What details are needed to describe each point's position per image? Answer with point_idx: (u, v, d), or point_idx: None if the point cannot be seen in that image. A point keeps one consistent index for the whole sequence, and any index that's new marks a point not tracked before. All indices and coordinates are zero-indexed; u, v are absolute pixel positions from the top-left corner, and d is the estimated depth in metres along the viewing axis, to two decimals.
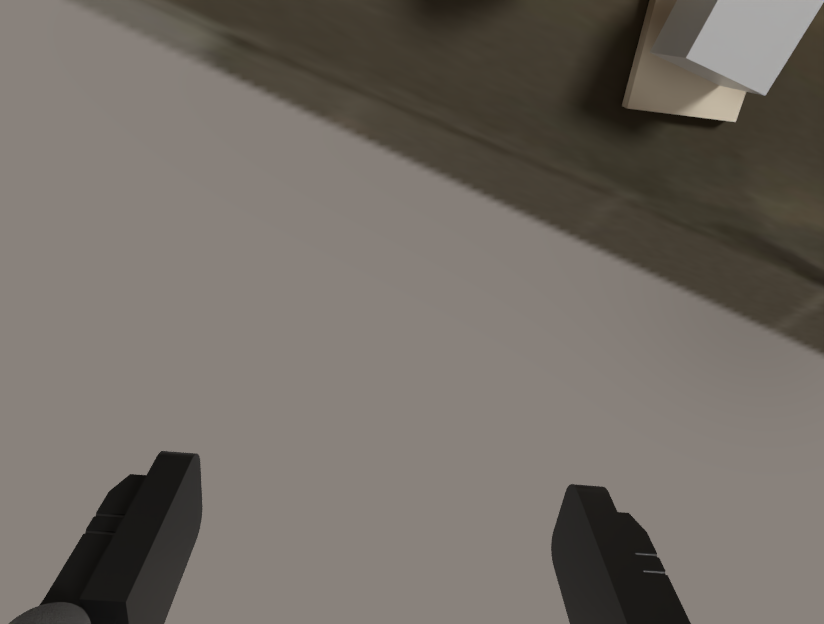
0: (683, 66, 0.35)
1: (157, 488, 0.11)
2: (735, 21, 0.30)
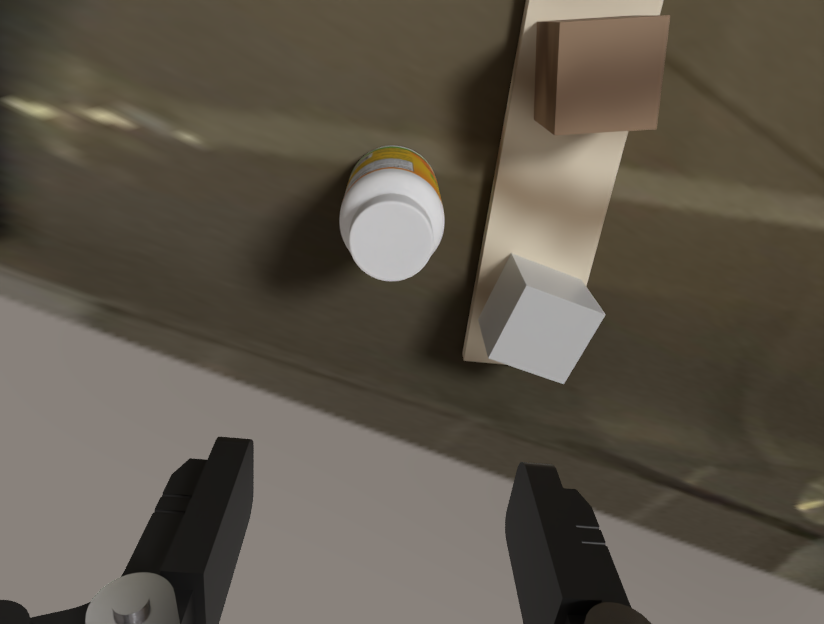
0: None
1: (219, 470, 0.12)
2: (527, 332, 0.34)
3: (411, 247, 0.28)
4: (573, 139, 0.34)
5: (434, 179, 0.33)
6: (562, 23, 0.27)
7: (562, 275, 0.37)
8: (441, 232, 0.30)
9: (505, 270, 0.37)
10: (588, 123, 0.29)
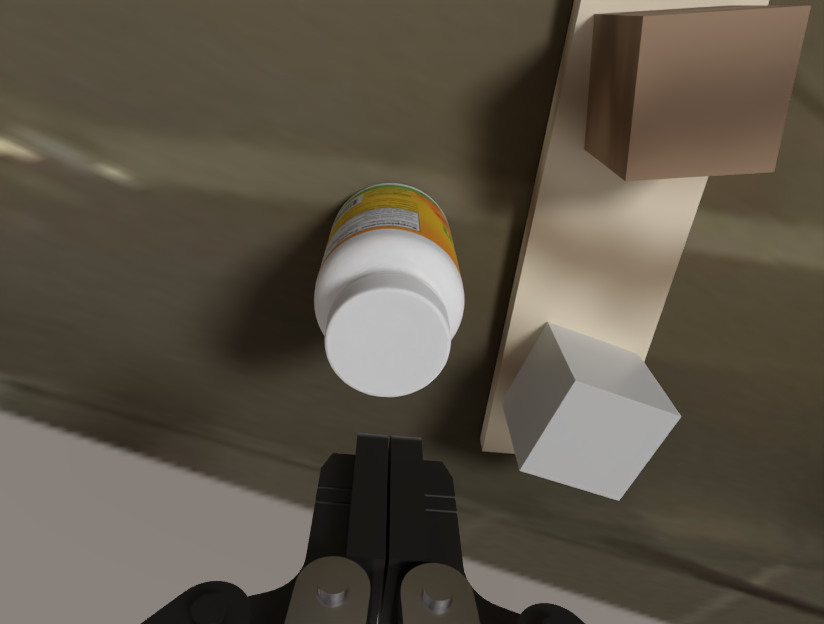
0: None
1: (370, 464, 0.12)
2: (574, 438, 0.25)
3: (418, 352, 0.19)
4: None
5: (448, 233, 0.24)
6: (647, 17, 0.18)
7: (615, 351, 0.28)
8: (459, 318, 0.21)
9: (540, 345, 0.28)
10: (675, 164, 0.20)
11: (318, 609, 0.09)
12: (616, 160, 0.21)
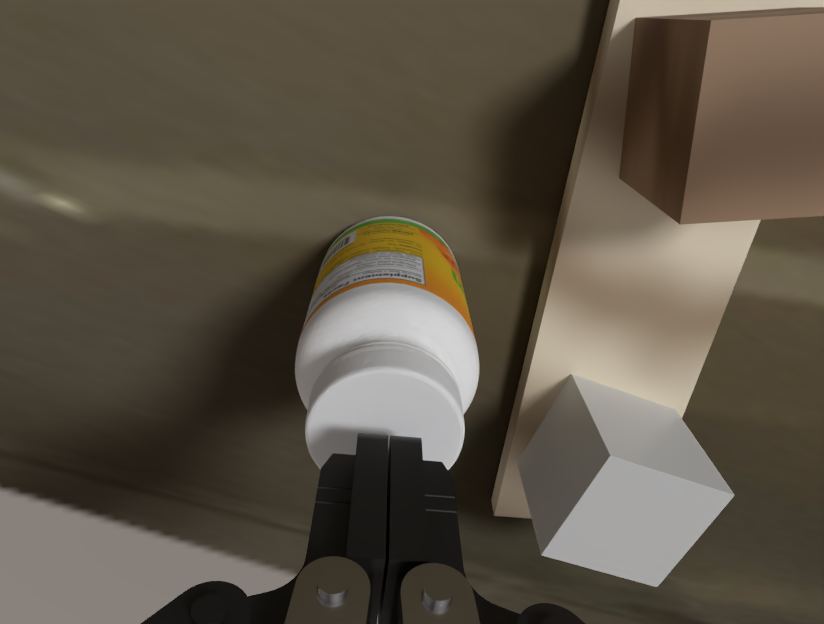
0: None
1: (369, 464, 0.12)
2: (606, 519, 0.21)
3: (423, 444, 0.15)
4: None
5: (458, 280, 0.20)
6: (715, 22, 0.14)
7: (649, 408, 0.24)
8: (474, 390, 0.17)
9: (563, 401, 0.24)
10: (743, 204, 0.16)
11: (318, 609, 0.09)
12: (666, 197, 0.17)
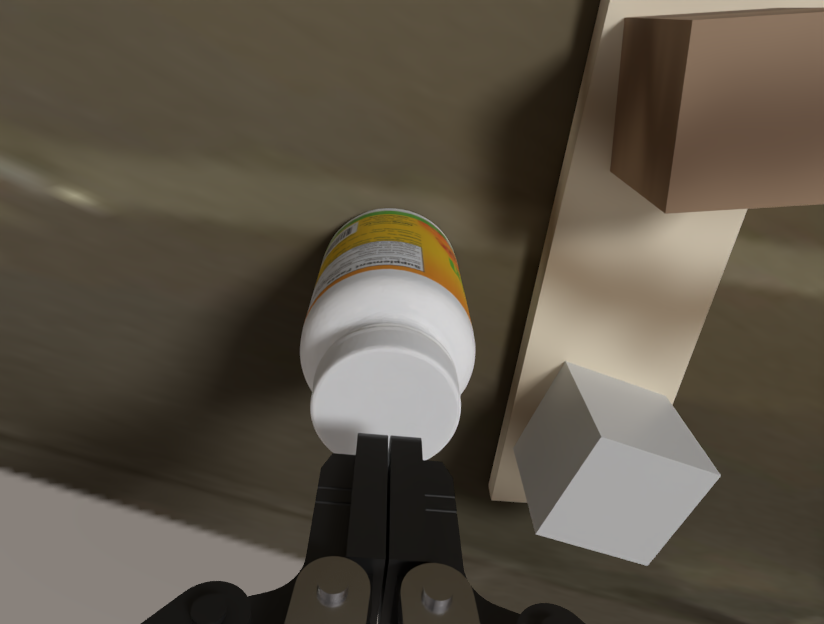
0: None
1: (370, 464, 0.12)
2: (598, 499, 0.22)
3: (421, 420, 0.16)
4: None
5: (455, 268, 0.21)
6: (697, 22, 0.15)
7: (641, 394, 0.25)
8: (470, 372, 0.18)
9: (557, 387, 0.25)
10: (725, 194, 0.17)
11: (318, 609, 0.09)
12: (653, 188, 0.18)
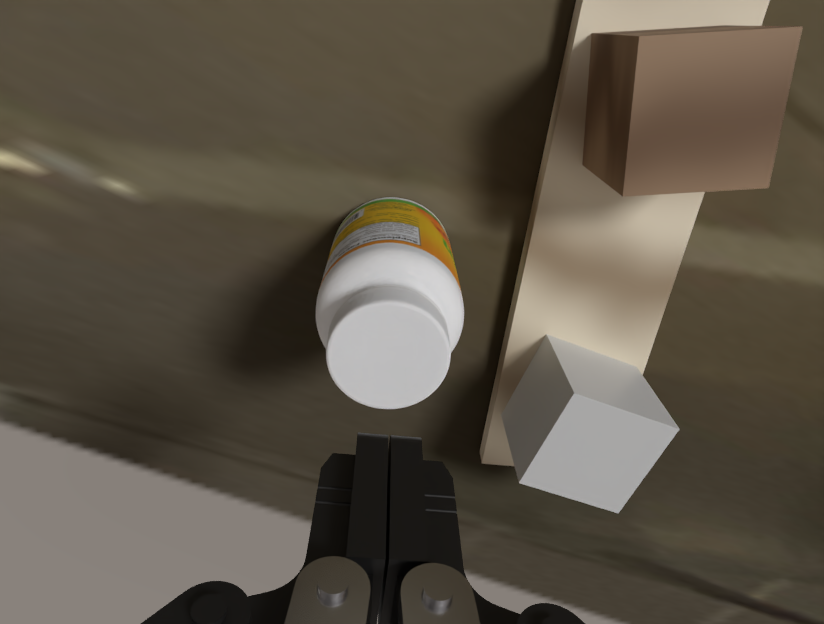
0: None
1: (370, 464, 0.12)
2: (573, 450, 0.25)
3: (418, 364, 0.19)
4: None
5: (448, 247, 0.24)
6: (642, 37, 0.18)
7: (613, 363, 0.28)
8: (459, 331, 0.21)
9: (539, 357, 0.28)
10: (671, 180, 0.20)
11: (318, 609, 0.09)
12: (613, 176, 0.21)
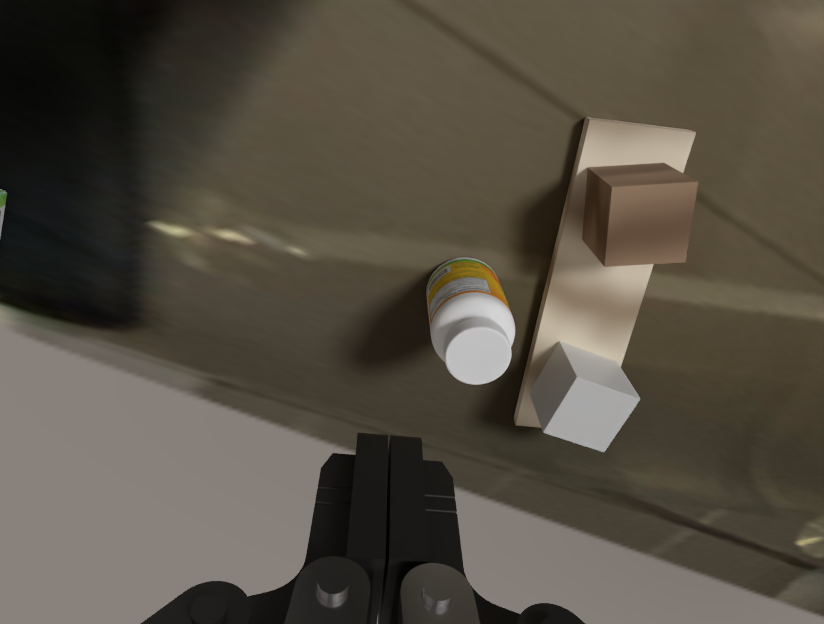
0: None
1: (369, 464, 0.12)
2: (576, 412, 0.42)
3: (494, 360, 0.35)
4: None
5: (502, 290, 0.40)
6: (614, 187, 0.35)
7: (601, 359, 0.45)
8: (512, 341, 0.38)
9: (554, 355, 0.45)
10: (631, 258, 0.37)
11: (318, 609, 0.09)
12: (599, 253, 0.38)
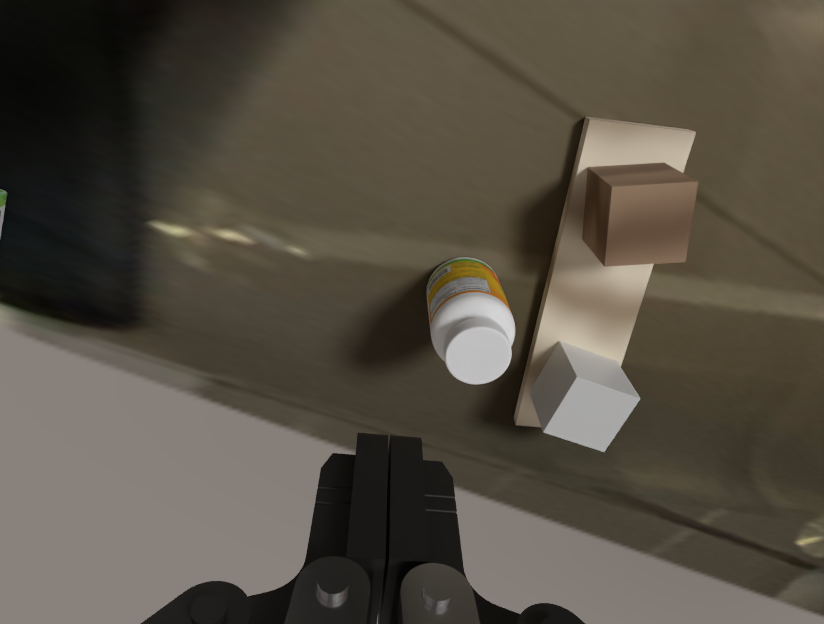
0: None
1: (370, 464, 0.12)
2: (576, 412, 0.42)
3: (494, 360, 0.35)
4: None
5: (502, 290, 0.40)
6: (614, 187, 0.35)
7: (601, 359, 0.45)
8: (512, 341, 0.38)
9: (554, 355, 0.45)
10: (631, 258, 0.37)
11: (318, 609, 0.09)
12: (599, 253, 0.38)
